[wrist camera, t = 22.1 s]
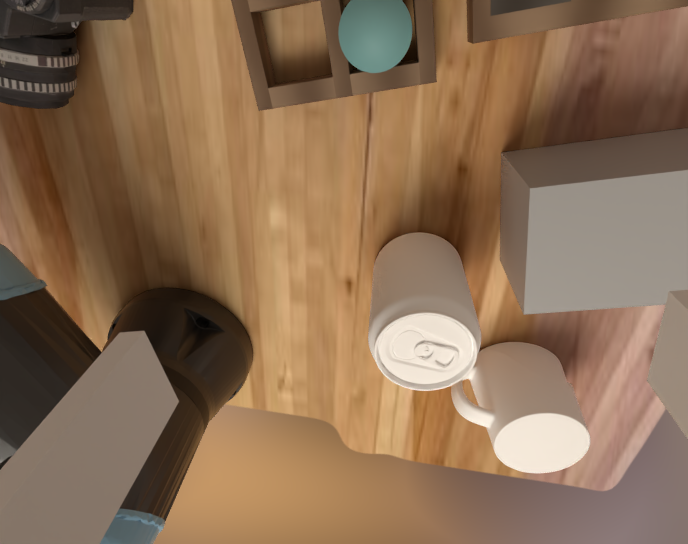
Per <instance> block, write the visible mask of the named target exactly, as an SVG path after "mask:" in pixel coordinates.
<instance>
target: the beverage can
mask: <svg viewBox="0 0 688 544" xmlns="http://www.w3.org/2000/svg"><path fill="white" fill-rule="evenodd" d="M368 342H369V348H370V351H371V354H372V356H373V358H374V359H375V361H376V363H377V366H378V367H379V369H380V371H381V372H382V373H383V374H384V375H385V376H386V377H387V378H388V379H389V380H391V381H392V382H394V383H396V384H398V385H400V386H402V387H405V388H408V389H413V390H421V391H430V390H438V389H442V388H446V387H449V386H451V385H453V384H455V383H457V382H459V381H460V380H462V379H463V378H464V377H465V376H466V375H467V374H468V373H469V372H470V371H471V370H472V368H473V366H474V364H475V362H476V359H477V355H478V352H479V350H480V346H481V330H480V326H479V322H478V319H477V315H476V312H475V308H474V304H473V301H472V297H471V294H470V290H469V286H468V283H467V279H466V276H465V272H464V268H463V265H462V261H461V258H460V256H459V254H458V252H457V251H456V249H455V248H454V247H453V246H452V245H451V244H450V243H449V242H448V241H446V240H445V239H443V238H441V237H439V236H437V235H434V234H430V233H422V232H417V233H409V234H405V235H402V236H399V237H397V238H395V239H393V240H392V241H390V242H389V243H388V244H386V245H385V246H384V247H383V248H382V250H381V251H380V252H379V254H378V256H377V258H376V260H375V264H374V270H373V283H372V295H371V308H370V320H369V333H368Z"/></svg>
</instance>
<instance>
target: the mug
mask: <svg viewBox="0 0 688 544" xmlns="http://www.w3.org/2000/svg"><path fill="white" fill-rule="evenodd" d="M465 379H470V382H471V385H472V388H473V391H474V394H475V396H476V399H477V402H478V405H479V406H477V405H475V404H473V403H472V402H471V401H470V400H469V399H468V398H467V397H466V395H465V393H464V391H463V387H462V381H463V380H465ZM451 395H452V400H453V403H454V406H455V408H456V409H457V411H458V412H459V413H460V414H461V415H462V416H463V417H464V418H465V419H467V420H469V421H471V422H473V423H476V424H478V425H481V426H484V427H486V428H487V431H488V434H489V436H490V439H491V442H492V445H493V448H494V451H495V453H496V455H497V457H498V458H499V459H500V461H502V462H503V463H504V464H505V465H507V466H509V467H511V468H513V469H515V470H518V471H522V472H528V473H548V472H554V471H558V470H562V469H564V468H567V467H569V466H571V465H573V464H575V463H576V462H578V461H579V460H580V459H581V458H582V457H583V456H584V455H585V454H586V452H587V451H588V449H589V446H590V435H589V432H588V429H587V426H586V423H585V421H584V418H583V415H582V412H581V409H580V407H579V404H578V401H577V398H576V395H575V392H574V389H573V386H572V384H571V383H568V382H567V380H566V377H565V374H564V371H563V368H562V365H561V362H560V361H559V359H558V358H557V357H556V356H555V355H554V354H553V353H552V352H550V351H549V350H547V349H545V348H543V347H540V346H538V345H534V344H530V343H524V342H504V343H498V344H495V345H491V346H489V347H486V348H484V349H483V350H481V351H480V352H478V355H477V359H476V362H475V364H474V366H473V368H472V370H471V371H470V372H469V373H468V374H467V375H466V376H465V377H464V378H463V379H462V380H460V381H459V382H457V383H455V384H453V385H452V388H451Z"/></svg>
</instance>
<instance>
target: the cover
mask: <svg viewBox="0 0 688 544" xmlns="http://www.w3.org/2000/svg"><path fill="white" fill-rule="evenodd" d="M500 261H501V264H502V266H503V268H504V271H505V273H506V275H507V277H508V280H509V282H510V284H511V287H512V289H513V291H514V293H515V296H516V298H517V300H518V303H519V305H520V307H521V309H522V312H523V314H524V315H525V314H539V313H553V312H567V311H581V310H595V309H609V308H623V307H637V306H651V305H665V304H666V301H667V297H668V293H669V291H677V290H688V128H683V129H675V130H668V131H660V132H653V133H645V134H638V135H630V136H622V137H615V138H607V139H600V140H592V141H585V142H577V143H569V144H562V145H554V146H547V147H539V148H532V149H524V150H516V151H509V152H501V216H500Z"/></svg>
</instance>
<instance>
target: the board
mask: <svg viewBox="0 0 688 544" xmlns="http://www.w3.org/2000/svg"><path fill="white" fill-rule="evenodd" d="M686 6H688V0H467V30H468V42H471V43H479V42H484V41H490V40H496V39H502V38H507V37H513V36H519V35H525V34H530V33H536V32H542V31H548V30H553V29H559V28H565V27H571V26H576V25H582V24H588V23H594V22H599V21H605V20H611V19H617V18H622V17H628V16H634V15H640V14H645V13H651V12H657V11H663V10H668V9H674V8H680V7H686Z"/></svg>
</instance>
